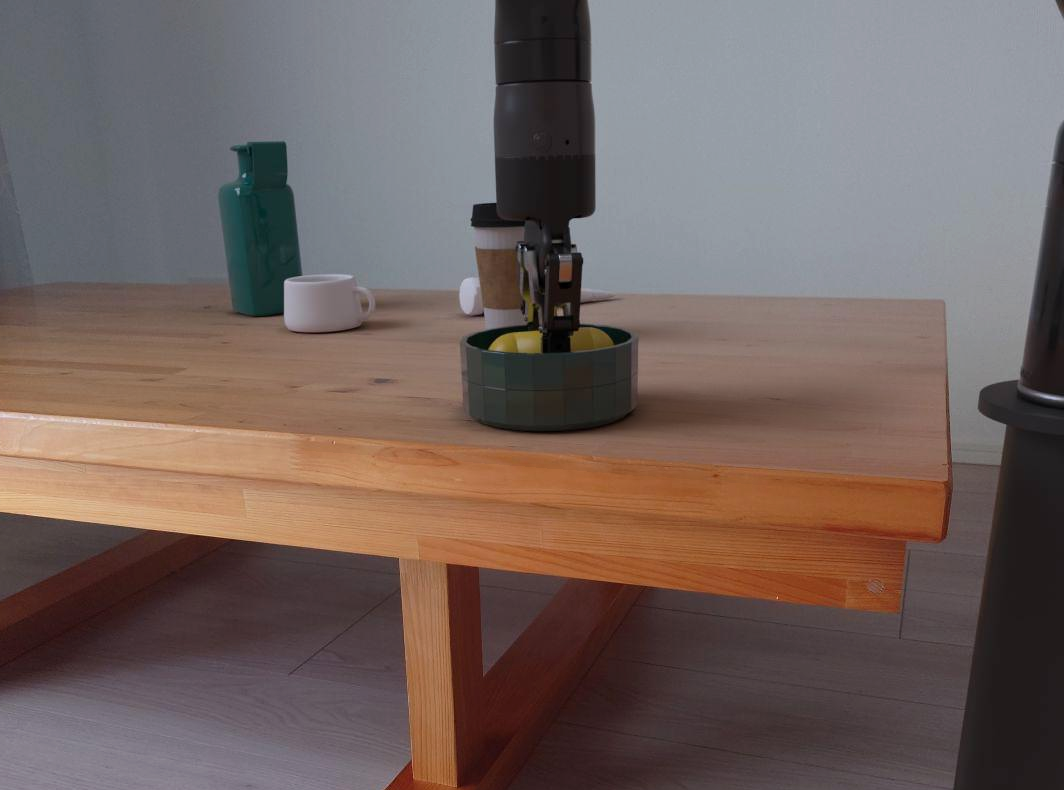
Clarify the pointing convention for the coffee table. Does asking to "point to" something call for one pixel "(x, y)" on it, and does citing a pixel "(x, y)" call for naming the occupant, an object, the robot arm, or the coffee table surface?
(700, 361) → the coffee table surface
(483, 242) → the coffee cup
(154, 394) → the coffee table surface
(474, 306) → the unicorn horn
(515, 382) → the teal round dish
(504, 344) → the capsule
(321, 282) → the mug
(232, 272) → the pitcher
